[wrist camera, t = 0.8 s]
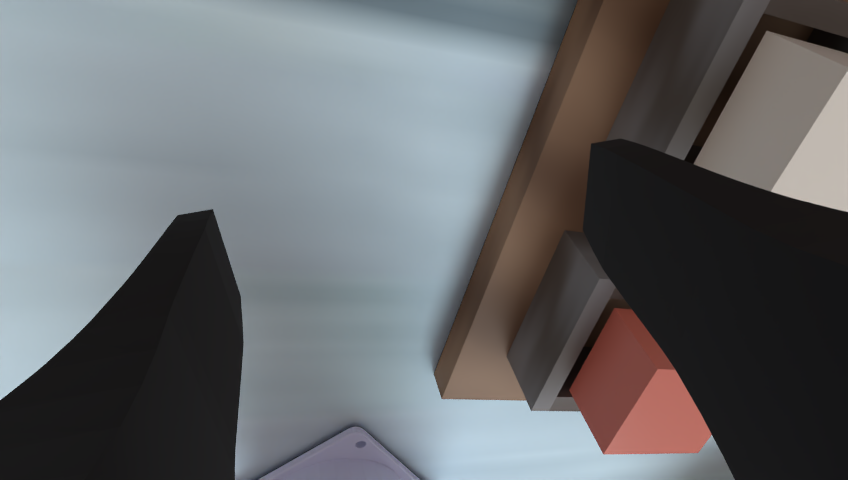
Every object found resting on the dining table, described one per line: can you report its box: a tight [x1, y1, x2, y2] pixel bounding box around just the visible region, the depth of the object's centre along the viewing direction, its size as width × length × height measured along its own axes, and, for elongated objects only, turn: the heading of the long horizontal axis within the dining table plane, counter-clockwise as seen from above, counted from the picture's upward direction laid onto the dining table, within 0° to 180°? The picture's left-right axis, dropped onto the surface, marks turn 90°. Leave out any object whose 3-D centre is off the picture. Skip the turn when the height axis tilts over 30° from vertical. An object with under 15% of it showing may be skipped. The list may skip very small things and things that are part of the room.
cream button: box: [694, 31, 848, 212], centre depth 18 cm, size 4×4×3 cm
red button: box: [569, 308, 712, 454], centre depth 23 cm, size 4×4×3 cm
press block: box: [434, 0, 848, 411], centre depth 23 cm, size 22×11×4 cm, turn 164°
